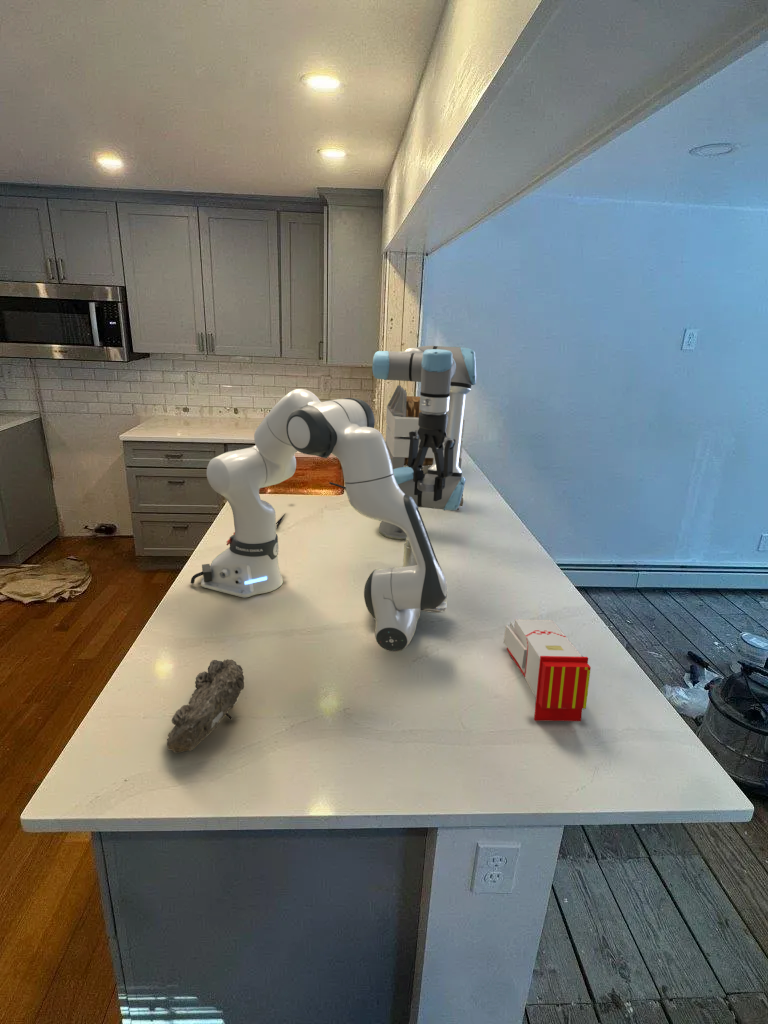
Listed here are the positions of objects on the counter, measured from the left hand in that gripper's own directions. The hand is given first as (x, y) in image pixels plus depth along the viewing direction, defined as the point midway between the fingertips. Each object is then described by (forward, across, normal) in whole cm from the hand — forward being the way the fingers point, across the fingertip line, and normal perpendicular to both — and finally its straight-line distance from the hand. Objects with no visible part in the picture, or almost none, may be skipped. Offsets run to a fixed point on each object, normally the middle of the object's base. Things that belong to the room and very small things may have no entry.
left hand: (411, 581), depth 152 cm
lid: (+10, -2, -25) cm, 27 cm away
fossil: (-55, +30, +6) cm, 63 cm away
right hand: (+10, -2, -21) cm, 23 cm away
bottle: (-1, 0, +6) cm, 6 cm away
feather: (+51, +56, +6) cm, 76 cm away
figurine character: (+84, -4, +6) cm, 84 cm away
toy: (-27, -32, +6) cm, 42 cm away
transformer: (+128, +15, +6) cm, 129 cm away
